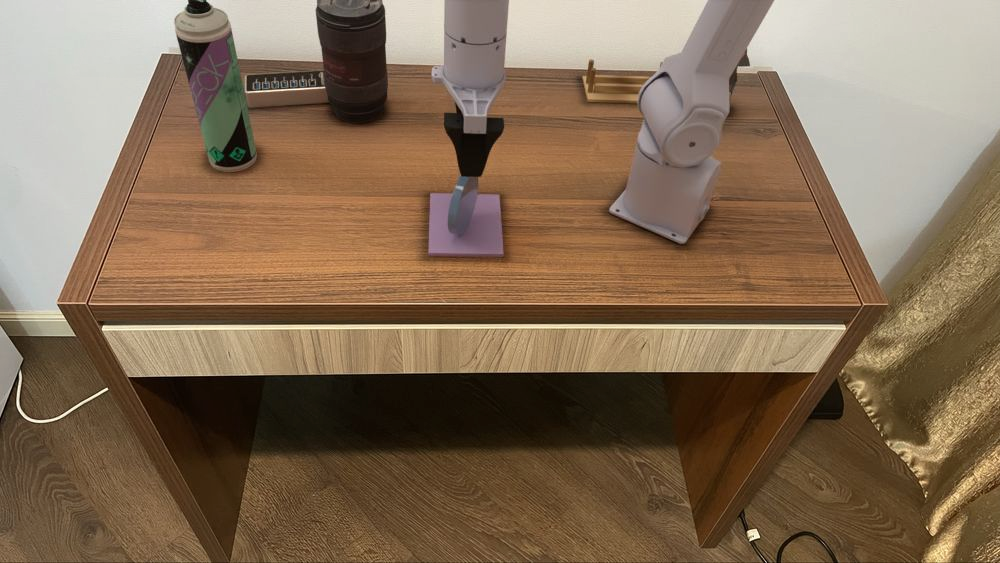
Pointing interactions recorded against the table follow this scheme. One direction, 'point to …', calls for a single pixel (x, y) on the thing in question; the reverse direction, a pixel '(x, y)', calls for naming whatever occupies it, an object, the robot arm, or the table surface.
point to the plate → (462, 204)
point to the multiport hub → (285, 89)
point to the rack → (612, 87)
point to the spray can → (216, 85)
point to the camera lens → (354, 57)
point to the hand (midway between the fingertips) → (470, 151)
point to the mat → (478, 235)
